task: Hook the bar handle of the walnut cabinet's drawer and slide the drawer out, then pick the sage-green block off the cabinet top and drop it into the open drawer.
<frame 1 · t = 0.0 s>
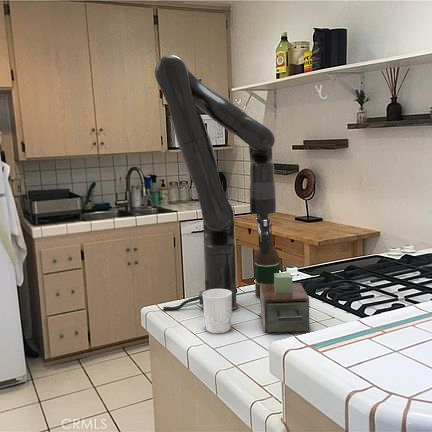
hand: (263, 250, 149), 17 cm above the counter, tool pointing down, fingers open, 8 cm apart
cabinet: (283, 322, 138), on the counter
beer bottle: (267, 296, 162), on the counter
drawer: (285, 312, 133), point 5 cm above the counter, slide at 0.5 cm
block: (283, 290, 137), point 9 cm above the counter, touching cabinet
white cup: (218, 329, 136), on the counter
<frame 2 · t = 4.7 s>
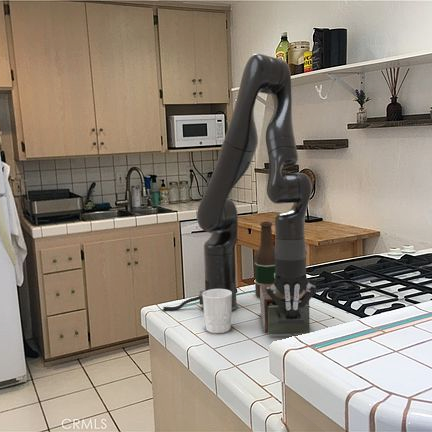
hand: (291, 323, 125), 5 cm above the counter, tool pointing down, fingers closed
drawer: (286, 315, 131), point 5 cm above the counter, slide at 2.2 cm, touching gripper
everything else where it was.
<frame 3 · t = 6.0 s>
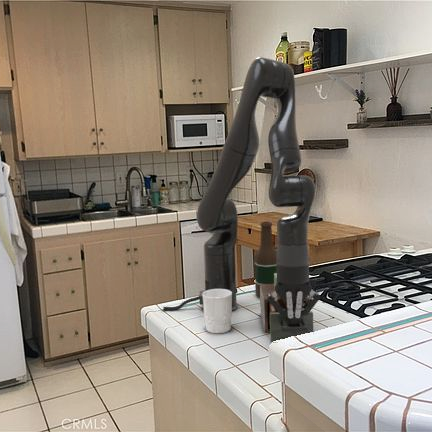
hand: (293, 331, 120), 5 cm above the counter, tool pointing down, fingers closed
drawer: (289, 322, 126), point 5 cm above the counter, slide at 7.3 cm, touching gripper
everything else where it was.
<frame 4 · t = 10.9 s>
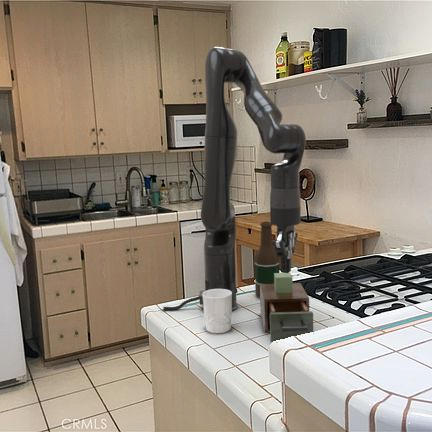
hand: (286, 272, 128), 16 cm above the counter, tool pointing down, fingers closed
drawer: (289, 322, 126), point 5 cm above the counter, slide at 7.4 cm
everything else where it was.
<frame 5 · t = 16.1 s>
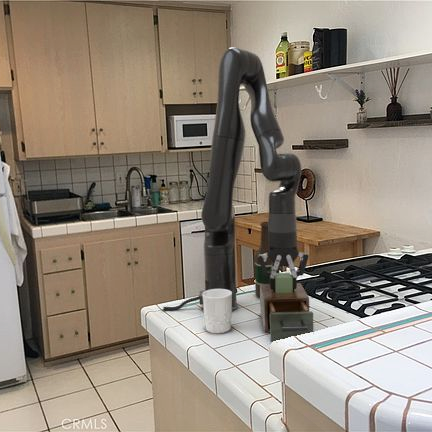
hand: (283, 290, 137), 9 cm above the counter, tool pointing down, fingers closed on block, 4 cm apart
block: (283, 290, 137), point 9 cm above the counter, touching cabinet, gripper
everything else where it was.
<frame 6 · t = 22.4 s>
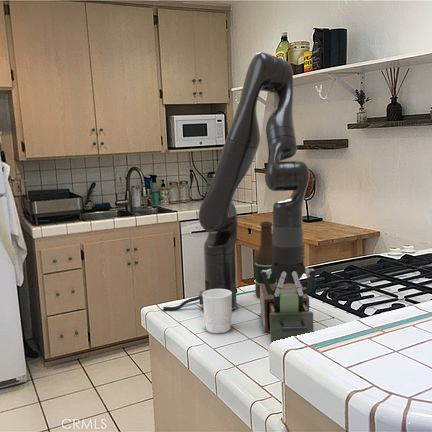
hand: (288, 309, 126), 8 cm above the counter, tool pointing down, fingers closed on block, 4 cm apart
block: (288, 309, 126), point 8 cm above the counter, touching gripper
everything else where it was.
when the fingers open (8 cm above the counter, at t = 28.8 s): block drops 6 cm, resting on drawer.
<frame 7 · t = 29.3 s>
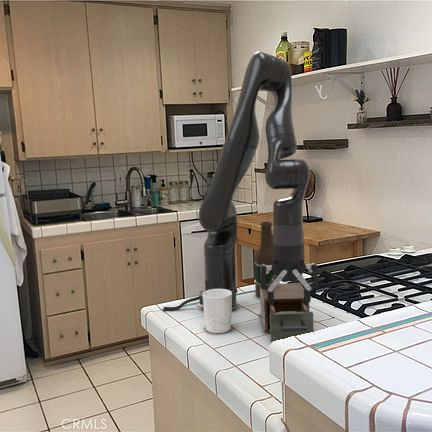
hand: (289, 304, 126), 9 cm above the counter, tool pointing down, fingers open, 8 cm apart
drawer: (289, 322, 126), point 5 cm above the counter, slide at 7.5 cm, touching block
block: (288, 331, 127), point 2 cm above the counter, touching drawer
everything else where it was.
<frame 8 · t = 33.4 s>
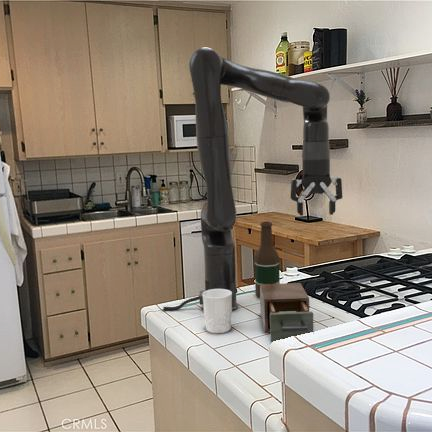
hand: (316, 214, 143), 28 cm above the counter, tool pointing down, fingers open, 8 cm apart
nothing on the counter moved.
at the end: drawer slide at 7.5 cm; block inside the target area in the drawer (0.5 cm from its centre), point 2.0 cm above the cabinet's base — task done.
